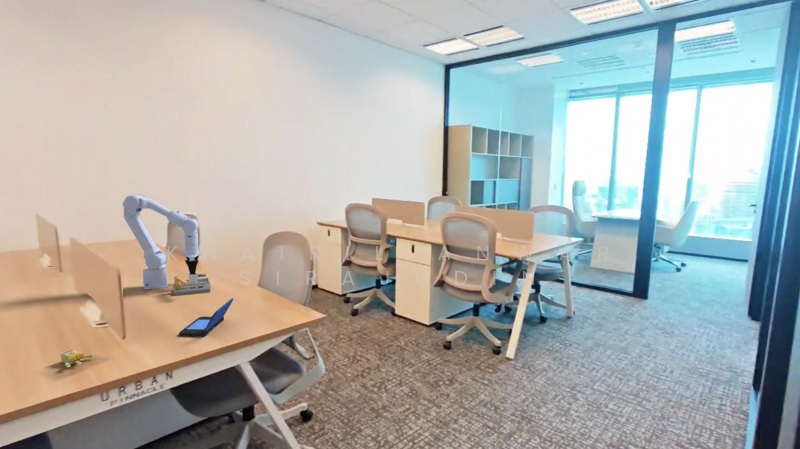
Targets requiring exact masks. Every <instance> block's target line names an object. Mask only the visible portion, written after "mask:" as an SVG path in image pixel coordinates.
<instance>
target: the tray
mask: <svg viewBox="0 0 800 449" xmlns="http://www.w3.org/2000/svg"><path fill="white" fill-rule="evenodd" d="M185 280H186V281H188V282H189V279H185ZM210 280H211V279H210V277H199V278H198V282H195V283H192V282H191V283H189V284H188V285H184V284H182V283H181V286H190V285H200V284H210V285H211V281H210Z"/></svg>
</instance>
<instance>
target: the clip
mask: <svg viewBox="0 0 800 449" xmlns="http://www.w3.org/2000/svg"><path fill="white" fill-rule="evenodd" d="M186 280H187V279H184V278H183V277H181V275H177V276H174V289H175V290H180V289H181V283H182V284H184V285H188V284H189V282H188V281H186Z"/></svg>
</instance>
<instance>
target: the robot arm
mask: <svg viewBox="0 0 800 449" xmlns="http://www.w3.org/2000/svg"><path fill="white" fill-rule="evenodd" d="M121 205H122V207H123V218H124V220H125V222H126V223H127V226H128V227H129V229H130V230H131V232H132V234H133V235H134V237H135V239H136V240H137V242H138V244H139V245H140V246H141V249H142V250H143V253H144V254H143V258H144V261H145V265H146V267H147V268H144V269H143V270H142V271H143V272H142V275H143V276H142V277H143V290H153V289H156V288H157V289H160V288H167V287H169V282H168V279H167V276H168V274H167V265H166V264H167V262H168V255H167V254H166V253H165V252H163V251H162V249H161V248H160V247H158V246H156V245H157V244H155V242H154V241H153V239H152V237H151V235H150V234H149V233H150V232H148V230H147V228H146V227H145V225H144V224H143V222H142V220H141V218H140V214H141V212H142V210H143V209H144V210H145V209H150V210H152V211H154V212H156V213H158V214H159V215H162V216H164V217H166V218H167V221H168V222H170V223H172V224H174V225H176V226H177V227H179V228H181V229H182V230H183V231H184V257H185V258H186V259H185V260H184V261H185V264H186V266H187V268H188V273H189V272H190V275H194V274H195V273H196V271H197V266H198V264H199V262H200V260H199V257H200V256H201V255H202V252H200V251H199V234H198V233H199V231H198V229H199V226H200V223H199V221H198V219H196V218H193V217H190V216H189V215H188V216H187V215H186V214H183V213H182V211H181V210H176V209H174V210H170V209H169V208H167V207H166V206H164V205H162V204H160V203H159V202H157V201H155V200H153V199H152V198H151V197H149V196H146V195H144V194H143V193H139V194H133V195H128V196H126V197H125V198H124V200H123V202H122V204H121Z"/></svg>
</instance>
